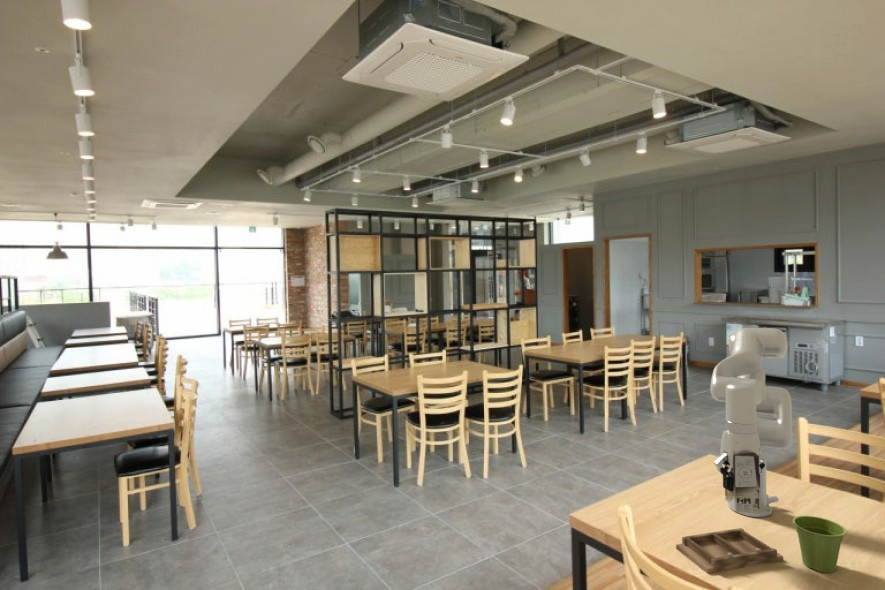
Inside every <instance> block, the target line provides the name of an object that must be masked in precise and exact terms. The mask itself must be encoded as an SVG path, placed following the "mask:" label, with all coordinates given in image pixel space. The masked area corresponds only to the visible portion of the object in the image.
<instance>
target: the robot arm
mask: <svg viewBox="0 0 885 590" xmlns="http://www.w3.org/2000/svg"><path fill="white" fill-rule="evenodd" d="M787 340H788V339H787V335H786V334H785V333H784V331H783V330H781V329H779V328H775V327H773V328H772V327H770V328H769V327H743V328H740V329H738V330H736V332H735V333H734V334H731V335H730V337H729V338H728V349H729V353H730V356H727V357H726V358H724V359H722V360H721V361H720V362H718V364H717V365H715V366H714V369H713V371H712V375H711V381H710V386H709V387H710V388H709V390H710V395H711V397H712V399H714V400H715V401H717V402H721V403H722V402H724V403H725V430H723V432H722V436H721V441H720V449H719V450H720V453H719V457H718V458H717V459H716V460H714V461H713V464H714V465H715V467H716V469H717V471H719V473H720V474H721V475H722V487H723V489H724V490H725V489H727V490H729V491H733V478H732V477H731V475H732V474H733V468H734V455H738V454H745V453H754V452H755V453H756V454H757V455H758V456H759V513H743V512H736V513H737V514H740V515H744V516H747V517H751V518H752V517H753V518H765V517H769V516H771V515H772V514H773V509H772V507H771V506H770V505H771V504H772V503H778V502H779V498H778V496H777V495H772V496H769V495H768V494H767V461H768V459H769V457H768V456H767V455H765V454H764V453H763V452H762V449H761V447H763V448H771V449H778V450H779V449H780V450H786V449H789V448H790V447H791V446H792V441H793V416H792V415H793V404H792V397H791V394H790V392H789V390H787V389H786V388H785V387H780V386H771V385H770V386H769V385H766V372H765V370H764V369H763V367H762V364H763V359H772V360H773V359H774V360H775V359H776V360H781V359H784V358H785V357H786V355H787V354H788V347H789V345H788V341H787ZM757 414H759V415H767V416H773V417H764V416H758V415H757ZM729 464H730V465H729ZM728 467H729V470H728V472H727V469H728ZM728 507H729V509H731V510H732V511H733V512H735V511H734V509H733V508H732V507H731V506H730V504H729V503H728Z"/></svg>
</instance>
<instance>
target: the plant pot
mask: <svg viewBox="0 0 885 590" xmlns="http://www.w3.org/2000/svg"><path fill="white" fill-rule="evenodd" d="M792 523H793V524H794V525H795V531H796V534H797V537H798V541H799V548H800V553H801V558H802V563H803V565H804V566H806V567H808V568H809V569H813V570H815V571H816V570H817V572H819V571H821V572H820V573H827V572H829V573H832V572H833V573H834V572H835V570H836V569H837V564H838V559H839V554H840V548H841V546H842V545H841V544H842V542H843V540H844V536H845V535H846V534H847V529H846V528H845V527H844V526H843V525H841V524H840V523H838V522H835V521H833V520H831V519H827V518H824V517H820V516H814V515H798V516H795V517H793V518H792Z"/></svg>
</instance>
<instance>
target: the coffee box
mask: <svg viewBox="0 0 885 590" xmlns="http://www.w3.org/2000/svg"><path fill="white" fill-rule="evenodd" d="M729 465H730V464H729ZM728 470H729V467H728V469H727V472H728ZM731 477H732V478H733V491H729V490H727V489H725V488H724V496H725V499H724V500H725V501H726V502H727V503H728V505H729V504H730V506H731V507H732V508H733V509H734V511H733V512H735V513H737V512H743V513H759V456H758V455H757V454H756V453H755V452H754V453H745V454H738V455H734V468H733V474H732V475H731Z"/></svg>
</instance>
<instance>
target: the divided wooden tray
mask: <svg viewBox="0 0 885 590" xmlns="http://www.w3.org/2000/svg"><path fill="white" fill-rule="evenodd" d="M681 542H682V543H678V544H677V543H676V544H675V545H676V546H675V548H676V550H677V551H679V553H681V554H683V556H685V557H686V558H687V559H689V560H690V561H691V562H692V563H694V564H695V565H696V566H697V567H698V568H700V569H701V570H703V572H705V573H706V574H712V573H716V572H722V571H729V570H734V569H735V570H736V569H740V568H741V569H742V568H746V567H753V566H759V565H764V564H769V563H777V562H782V561H784V556H783V555H782V554H781V553H779V552H778V549H776V548H772V547H771V546H769V545H767V544H766V543H764V542H762V540H759V539H758V538H756V537H754V536H753V535H751V534H749V533H748V532H746V531H745V530H744V528H742V527H740V528H733V529H728V530H727V529H726V530H725V529H724V530H720V531H712V532H707V533H700V534H693V535H688V536H682V539H681Z"/></svg>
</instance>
